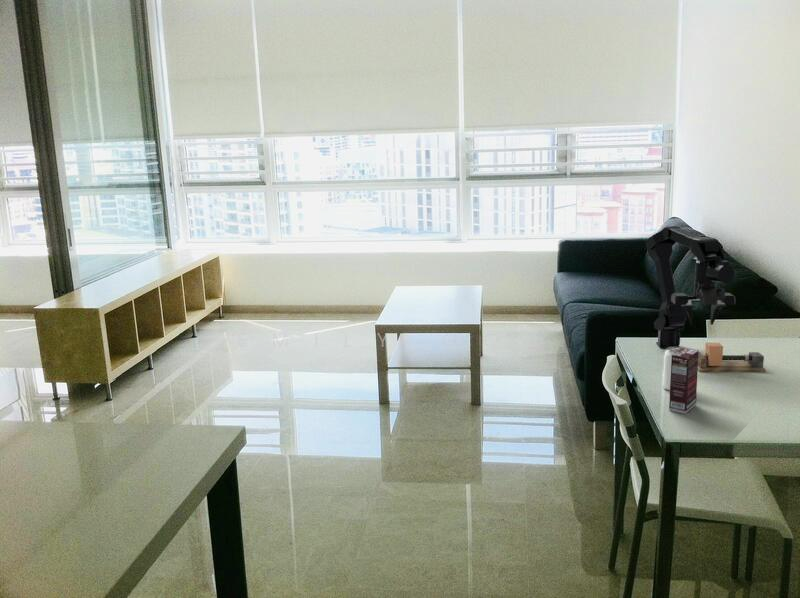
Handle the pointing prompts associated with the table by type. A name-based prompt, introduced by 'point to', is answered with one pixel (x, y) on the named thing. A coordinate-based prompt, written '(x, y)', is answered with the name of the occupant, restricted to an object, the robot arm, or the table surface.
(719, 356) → the sleeve
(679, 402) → the supplement box
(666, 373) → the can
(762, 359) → the comb rail
